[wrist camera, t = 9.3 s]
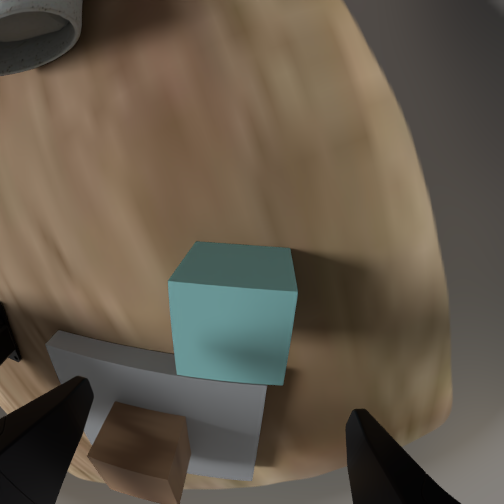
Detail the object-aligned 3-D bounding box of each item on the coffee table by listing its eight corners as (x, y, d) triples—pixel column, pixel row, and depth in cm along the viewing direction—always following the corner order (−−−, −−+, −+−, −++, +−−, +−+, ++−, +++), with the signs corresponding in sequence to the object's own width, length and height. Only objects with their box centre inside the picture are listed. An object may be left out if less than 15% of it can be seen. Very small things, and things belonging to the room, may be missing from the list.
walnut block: (129, 440, 20) (110, 488, 15) (114, 401, 18) (87, 455, 13) (191, 453, 20) (178, 507, 15) (185, 416, 18) (167, 480, 13)
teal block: (198, 319, 18) (176, 374, 13) (196, 240, 16) (167, 280, 11) (280, 326, 18) (282, 385, 13) (289, 247, 16) (297, 291, 11)
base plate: (100, 434, 24) (93, 448, 22) (58, 329, 19) (45, 344, 17) (253, 464, 23) (252, 481, 22) (267, 364, 19) (266, 385, 17)
